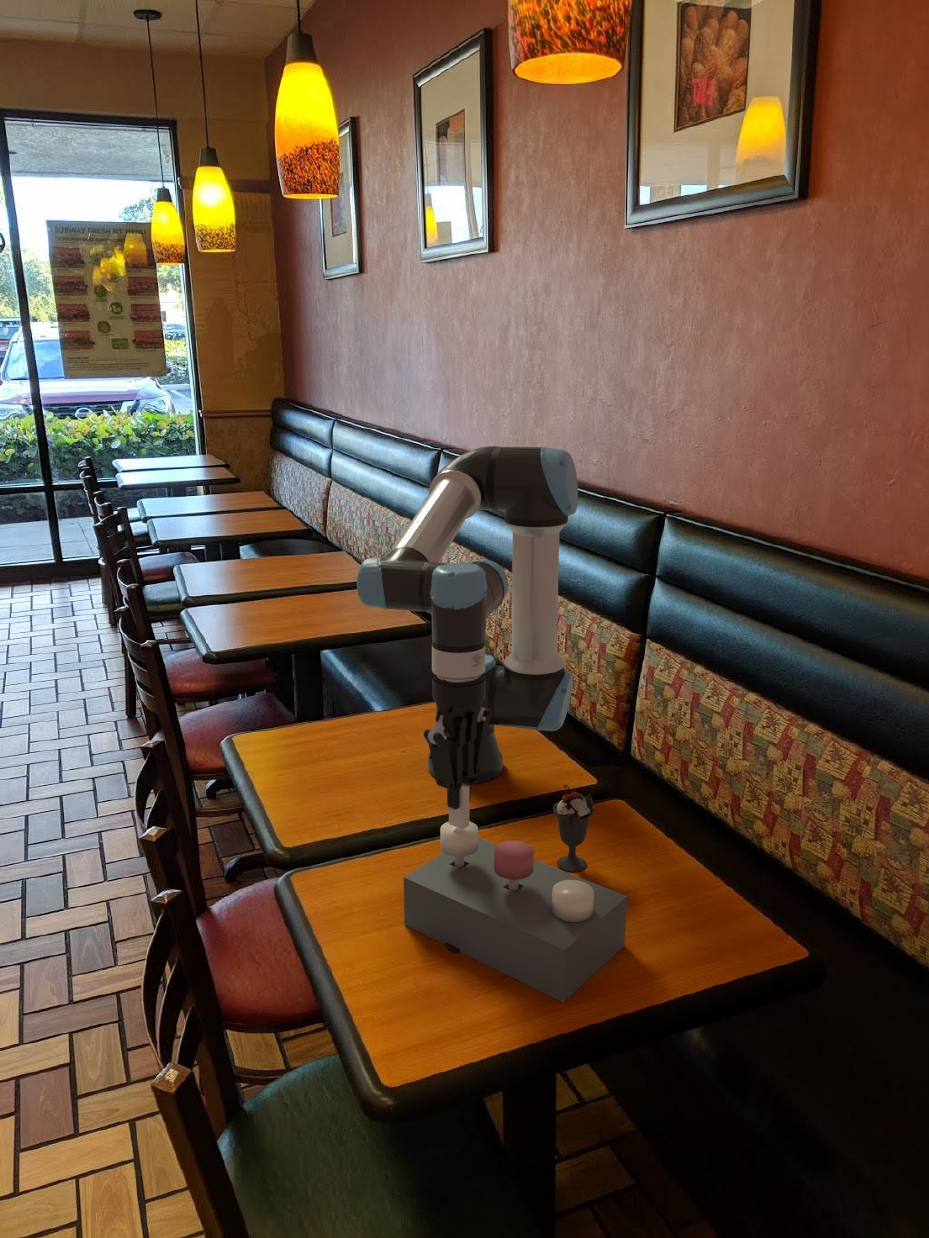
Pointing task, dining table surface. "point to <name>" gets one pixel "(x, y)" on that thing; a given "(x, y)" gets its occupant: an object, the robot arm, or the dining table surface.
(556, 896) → the cream knob
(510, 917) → the control box
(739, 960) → the dining table surface
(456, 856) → the cream knob
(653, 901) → the dining table surface
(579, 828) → the sundae
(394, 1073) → the dining table surface
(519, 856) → the pink knob
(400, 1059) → the dining table surface
